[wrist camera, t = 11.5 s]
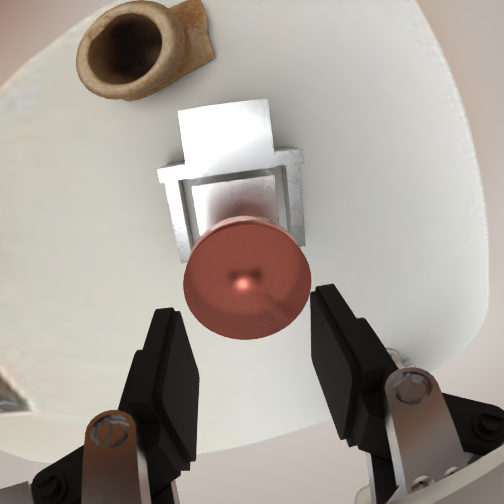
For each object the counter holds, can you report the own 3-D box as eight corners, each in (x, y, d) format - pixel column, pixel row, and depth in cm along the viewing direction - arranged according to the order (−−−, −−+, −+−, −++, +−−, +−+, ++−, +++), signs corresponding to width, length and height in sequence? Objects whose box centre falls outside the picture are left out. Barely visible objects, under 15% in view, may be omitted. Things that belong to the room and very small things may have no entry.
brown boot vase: (131, 125, 35) (81, 122, 21) (97, 56, 30) (41, 27, 16) (237, 69, 33) (244, 32, 19) (198, 1, 29) (186, -57, 15)
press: (288, 111, 36) (359, 87, 15) (300, 238, 42) (362, 332, 22) (161, 129, 35) (87, 125, 15) (184, 254, 42) (151, 363, 21)
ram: (265, 164, 24) (306, 195, 12) (274, 249, 27) (312, 343, 15) (196, 174, 24) (166, 215, 12) (211, 258, 27) (202, 359, 15)
